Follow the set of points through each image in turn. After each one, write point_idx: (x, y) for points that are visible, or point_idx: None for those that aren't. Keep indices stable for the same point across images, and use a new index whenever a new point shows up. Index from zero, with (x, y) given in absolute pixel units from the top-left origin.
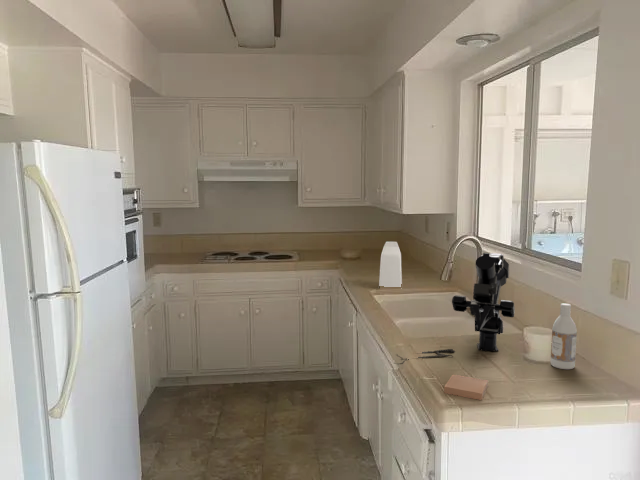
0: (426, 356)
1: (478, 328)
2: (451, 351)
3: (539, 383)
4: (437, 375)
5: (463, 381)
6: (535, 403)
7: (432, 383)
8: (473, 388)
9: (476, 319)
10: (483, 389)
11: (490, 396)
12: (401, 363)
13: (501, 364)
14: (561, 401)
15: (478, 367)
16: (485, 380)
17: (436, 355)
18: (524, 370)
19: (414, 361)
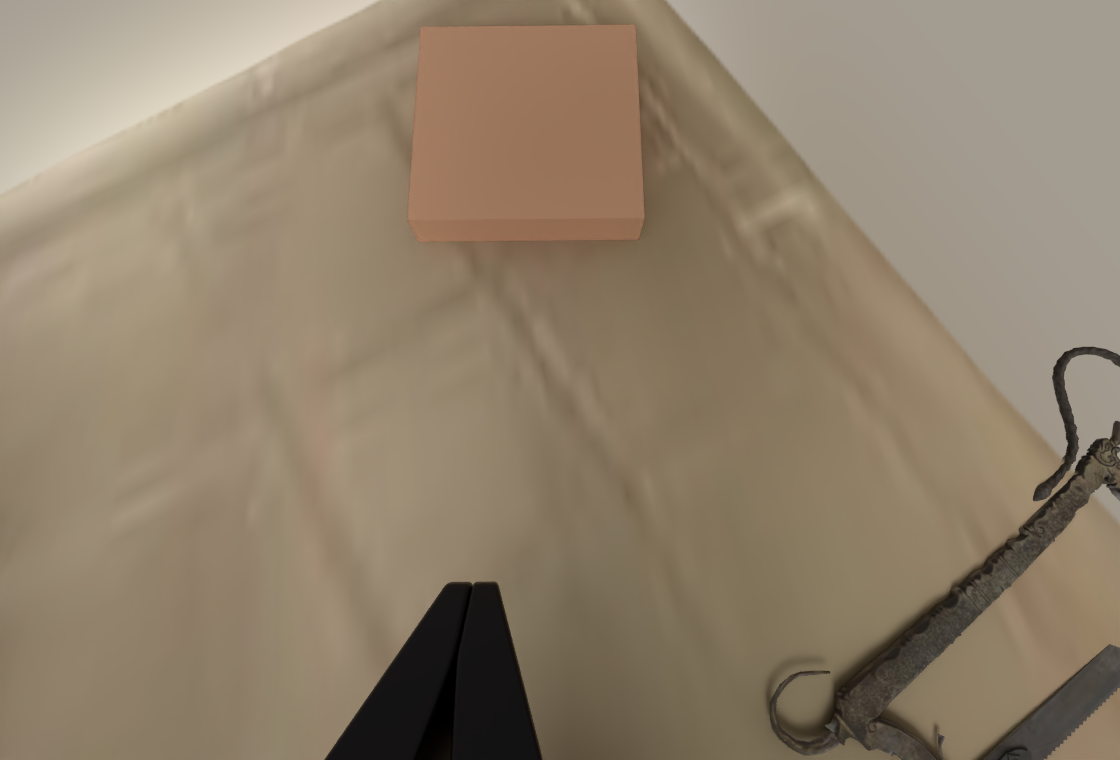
0: (974, 609)
1: (483, 584)
2: None
3: (96, 449)
4: (748, 272)
5: (551, 137)
6: (160, 140)
7: (731, 143)
8: (476, 68)
9: (529, 742)
10: (420, 78)
11: (392, 120)
12: (1060, 364)
13: None
14: (13, 226)
15: (524, 571)
16: (423, 212)
17: (911, 676)
18: (174, 684)
19: (1003, 460)
